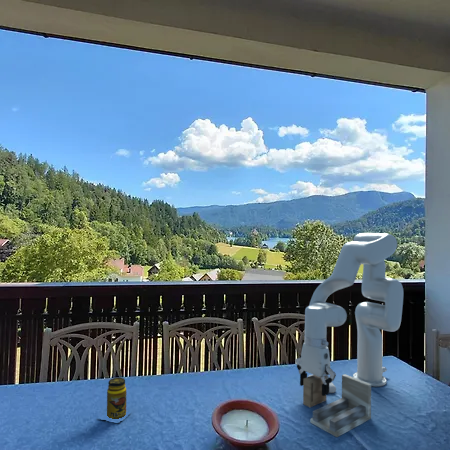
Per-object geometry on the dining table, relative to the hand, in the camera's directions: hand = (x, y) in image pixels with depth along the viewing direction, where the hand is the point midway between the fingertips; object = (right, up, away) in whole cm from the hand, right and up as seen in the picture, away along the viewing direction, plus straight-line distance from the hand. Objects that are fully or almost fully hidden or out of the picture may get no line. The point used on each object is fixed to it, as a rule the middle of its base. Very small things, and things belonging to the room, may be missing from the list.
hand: (314, 389), depth 130 cm
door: (0, -5, 0) cm, 5 cm away
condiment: (-68, -4, -11) cm, 69 cm away
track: (+6, -5, -12) cm, 14 cm away
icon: (+5, -5, +13) cm, 15 cm away
